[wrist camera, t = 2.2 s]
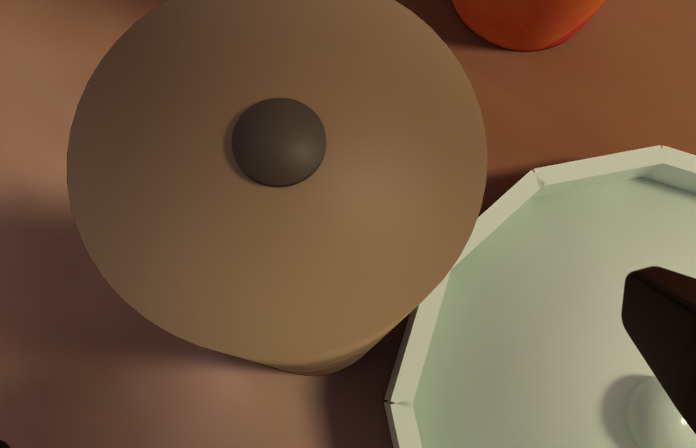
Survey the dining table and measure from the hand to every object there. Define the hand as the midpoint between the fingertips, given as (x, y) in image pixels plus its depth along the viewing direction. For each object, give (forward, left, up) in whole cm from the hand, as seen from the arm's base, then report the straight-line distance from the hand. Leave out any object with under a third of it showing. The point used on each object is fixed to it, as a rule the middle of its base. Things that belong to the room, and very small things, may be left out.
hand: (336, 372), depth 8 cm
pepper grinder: (+2, +1, -10) cm, 10 cm away
